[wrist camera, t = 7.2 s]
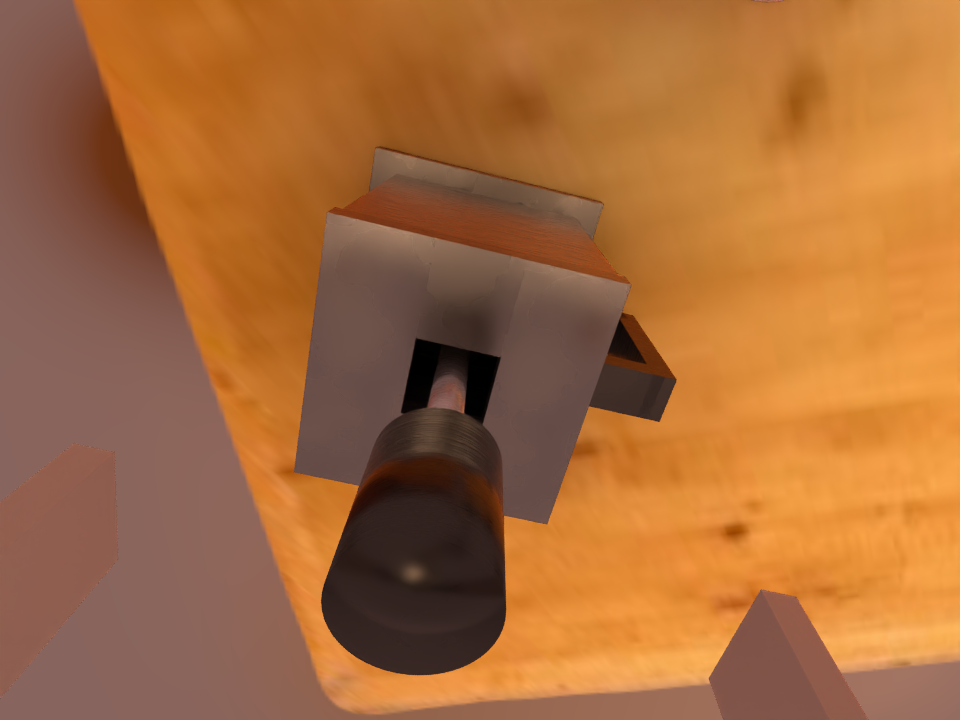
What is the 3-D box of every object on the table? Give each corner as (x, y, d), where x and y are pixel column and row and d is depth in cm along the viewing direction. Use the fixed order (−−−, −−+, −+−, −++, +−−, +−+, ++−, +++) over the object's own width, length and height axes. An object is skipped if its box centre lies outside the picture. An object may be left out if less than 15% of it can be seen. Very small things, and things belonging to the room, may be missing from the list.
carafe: (653, 214, 31) (759, 283, 19) (586, 406, 36) (635, 563, 23) (379, 146, 30) (298, 171, 18) (347, 353, 35) (265, 487, 22)
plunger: (554, 236, 30) (676, 490, 10) (516, 369, 33) (551, 767, 13) (407, 201, 29) (224, 393, 9) (382, 339, 33) (203, 706, 13)
